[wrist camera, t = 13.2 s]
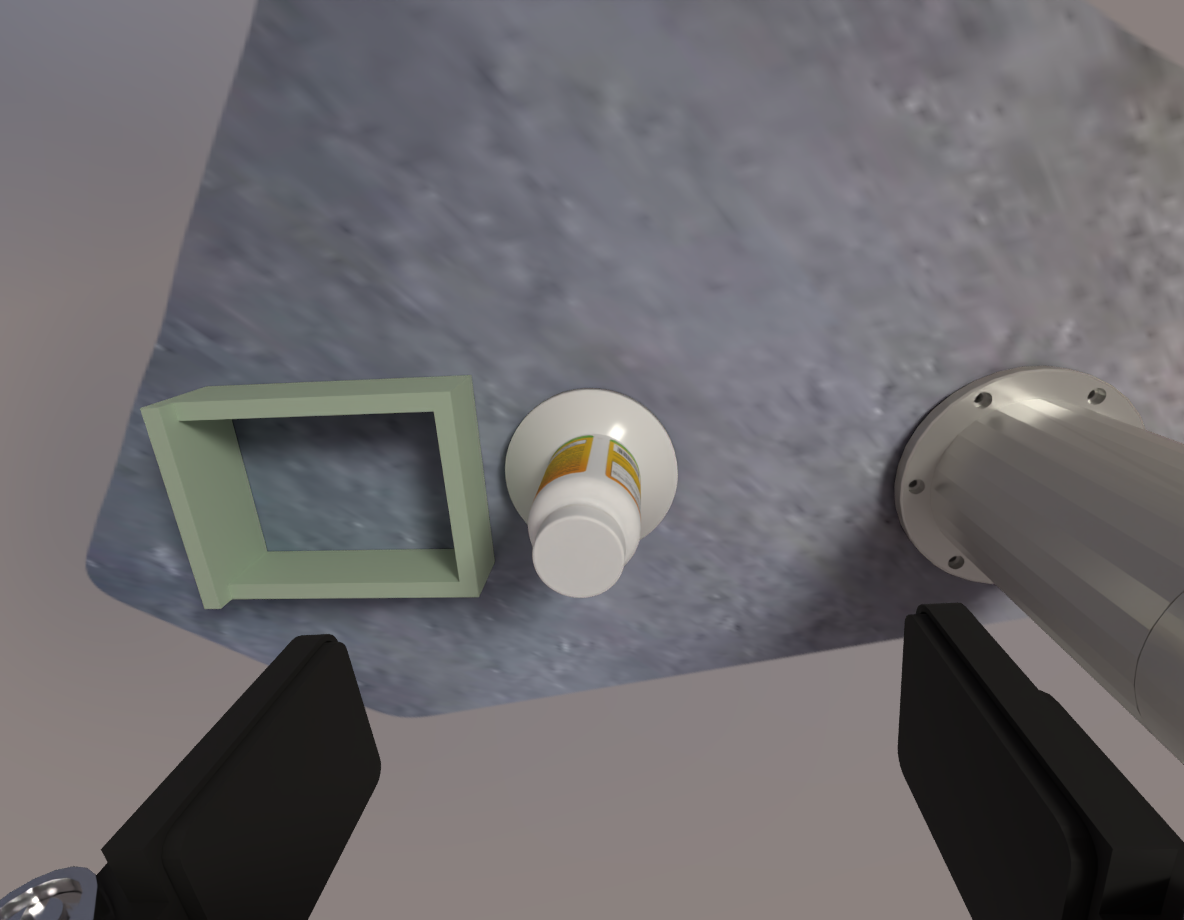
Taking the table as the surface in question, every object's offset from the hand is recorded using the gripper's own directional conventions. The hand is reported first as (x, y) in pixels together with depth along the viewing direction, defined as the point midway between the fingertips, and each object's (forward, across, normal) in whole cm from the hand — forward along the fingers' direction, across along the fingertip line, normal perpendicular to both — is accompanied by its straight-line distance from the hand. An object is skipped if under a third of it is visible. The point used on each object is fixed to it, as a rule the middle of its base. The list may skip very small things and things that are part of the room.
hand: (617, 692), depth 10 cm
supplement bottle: (+24, +3, +5) cm, 25 cm away
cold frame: (+24, +18, +4) cm, 31 cm away
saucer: (+25, +3, +5) cm, 25 cm away
